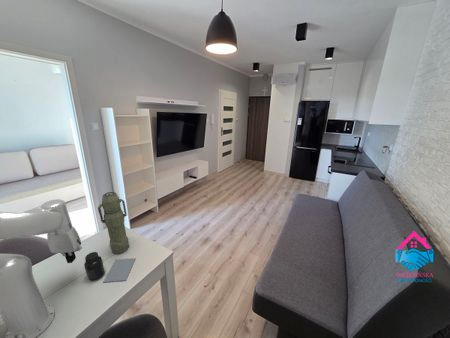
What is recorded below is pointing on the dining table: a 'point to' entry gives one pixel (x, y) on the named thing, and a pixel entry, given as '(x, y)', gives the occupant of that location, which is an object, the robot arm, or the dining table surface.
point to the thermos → (114, 222)
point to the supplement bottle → (94, 266)
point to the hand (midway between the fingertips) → (71, 260)
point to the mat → (119, 270)
